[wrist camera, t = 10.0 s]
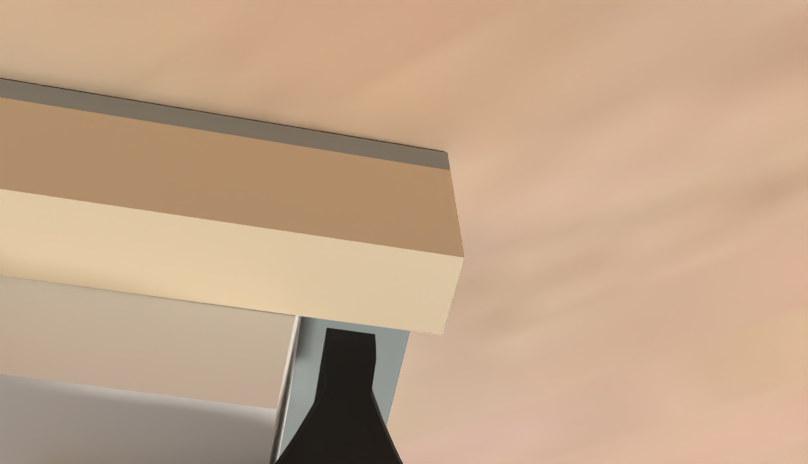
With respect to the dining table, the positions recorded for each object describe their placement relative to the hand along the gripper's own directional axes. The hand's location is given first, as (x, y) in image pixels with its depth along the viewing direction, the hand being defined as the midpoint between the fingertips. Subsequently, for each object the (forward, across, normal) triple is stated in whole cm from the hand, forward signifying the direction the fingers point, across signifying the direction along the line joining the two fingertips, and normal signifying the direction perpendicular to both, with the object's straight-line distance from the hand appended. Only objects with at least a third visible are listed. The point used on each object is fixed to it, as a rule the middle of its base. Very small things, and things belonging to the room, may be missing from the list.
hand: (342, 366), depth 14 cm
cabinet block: (+1, +4, 0) cm, 4 cm away
